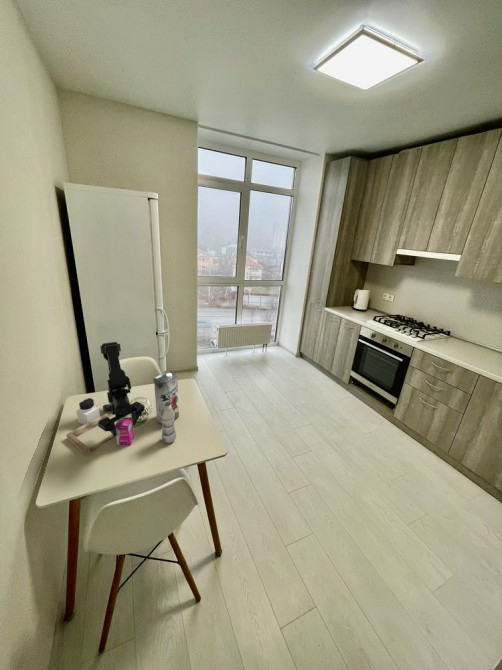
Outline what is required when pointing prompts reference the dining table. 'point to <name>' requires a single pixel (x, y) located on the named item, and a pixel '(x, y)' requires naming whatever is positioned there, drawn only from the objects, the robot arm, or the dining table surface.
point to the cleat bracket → (73, 434)
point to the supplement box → (124, 432)
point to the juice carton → (166, 392)
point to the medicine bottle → (87, 411)
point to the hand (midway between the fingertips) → (124, 430)
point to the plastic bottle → (167, 423)
